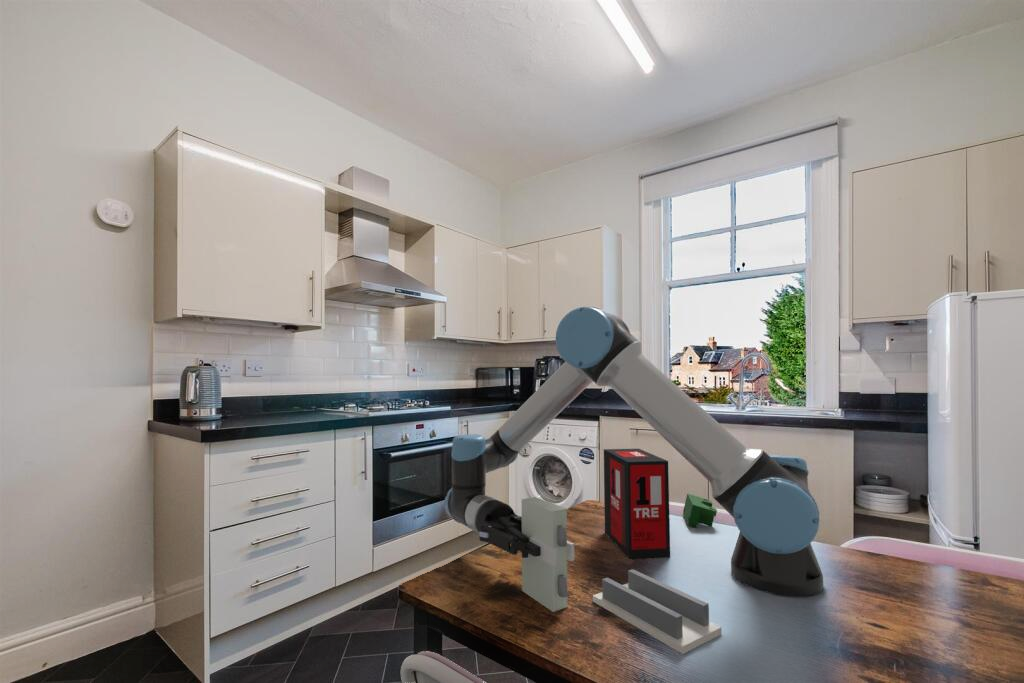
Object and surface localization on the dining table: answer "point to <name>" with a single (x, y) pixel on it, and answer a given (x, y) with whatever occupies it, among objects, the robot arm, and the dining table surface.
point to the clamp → (698, 511)
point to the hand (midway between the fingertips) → (563, 554)
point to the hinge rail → (659, 611)
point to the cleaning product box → (637, 503)
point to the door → (537, 574)
